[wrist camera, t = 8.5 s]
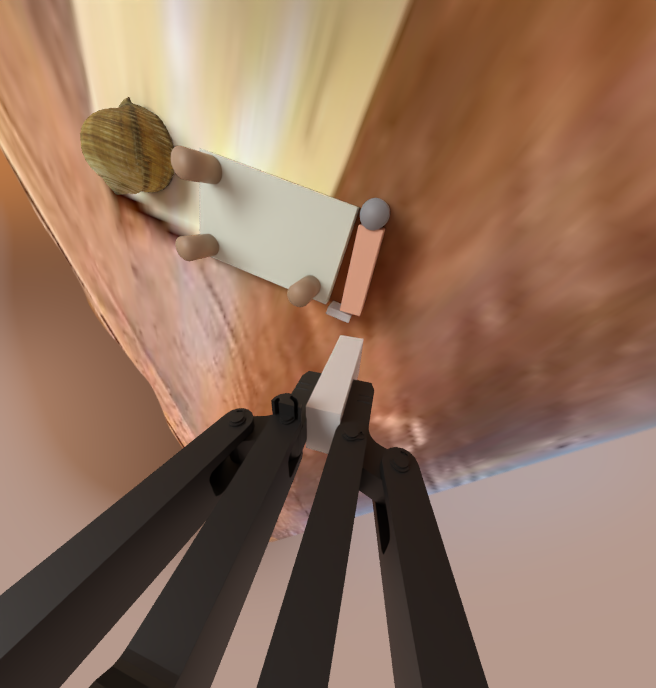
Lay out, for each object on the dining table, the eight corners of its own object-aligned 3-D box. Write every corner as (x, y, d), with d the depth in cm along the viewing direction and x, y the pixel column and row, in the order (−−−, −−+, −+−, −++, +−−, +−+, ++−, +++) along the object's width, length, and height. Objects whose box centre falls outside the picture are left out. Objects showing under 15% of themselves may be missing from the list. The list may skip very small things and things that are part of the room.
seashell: (172, 125, 30) (80, 76, 24) (182, 118, 25) (72, 57, 20) (165, 208, 33) (84, 181, 28) (173, 215, 29) (78, 185, 23)
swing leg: (368, 197, 24) (363, 195, 21) (393, 202, 24) (392, 201, 21) (344, 300, 30) (338, 310, 27) (364, 306, 30) (360, 316, 27)
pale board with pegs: (208, 256, 32) (175, 264, 28) (209, 151, 26) (167, 138, 21) (351, 315, 31) (342, 334, 26) (390, 219, 24) (388, 220, 20)
